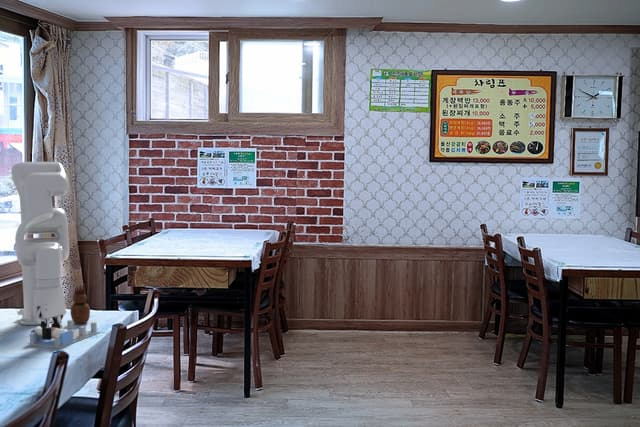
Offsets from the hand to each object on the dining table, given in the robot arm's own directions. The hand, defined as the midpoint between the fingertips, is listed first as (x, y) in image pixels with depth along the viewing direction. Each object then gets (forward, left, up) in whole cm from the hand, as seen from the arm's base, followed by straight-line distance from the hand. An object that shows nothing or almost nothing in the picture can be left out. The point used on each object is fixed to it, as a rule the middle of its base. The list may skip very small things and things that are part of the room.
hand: (51, 337), depth 216 cm
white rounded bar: (0, 0, +1) cm, 1 cm away
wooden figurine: (-9, +25, -2) cm, 27 cm away
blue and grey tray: (0, +6, -2) cm, 6 cm away
